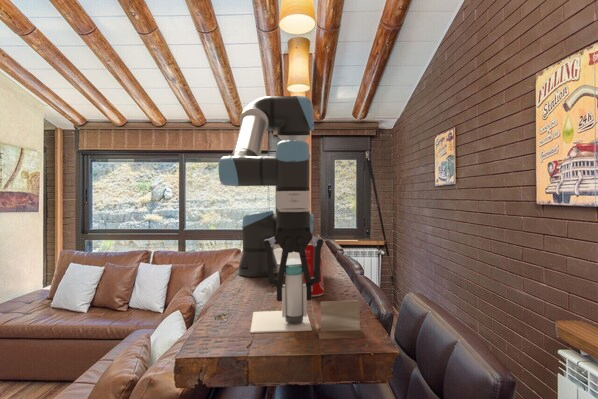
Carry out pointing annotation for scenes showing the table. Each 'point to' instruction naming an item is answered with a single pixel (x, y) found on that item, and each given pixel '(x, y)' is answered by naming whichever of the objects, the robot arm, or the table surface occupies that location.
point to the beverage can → (316, 288)
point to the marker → (294, 293)
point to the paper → (276, 323)
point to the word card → (340, 320)
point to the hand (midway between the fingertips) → (294, 314)
